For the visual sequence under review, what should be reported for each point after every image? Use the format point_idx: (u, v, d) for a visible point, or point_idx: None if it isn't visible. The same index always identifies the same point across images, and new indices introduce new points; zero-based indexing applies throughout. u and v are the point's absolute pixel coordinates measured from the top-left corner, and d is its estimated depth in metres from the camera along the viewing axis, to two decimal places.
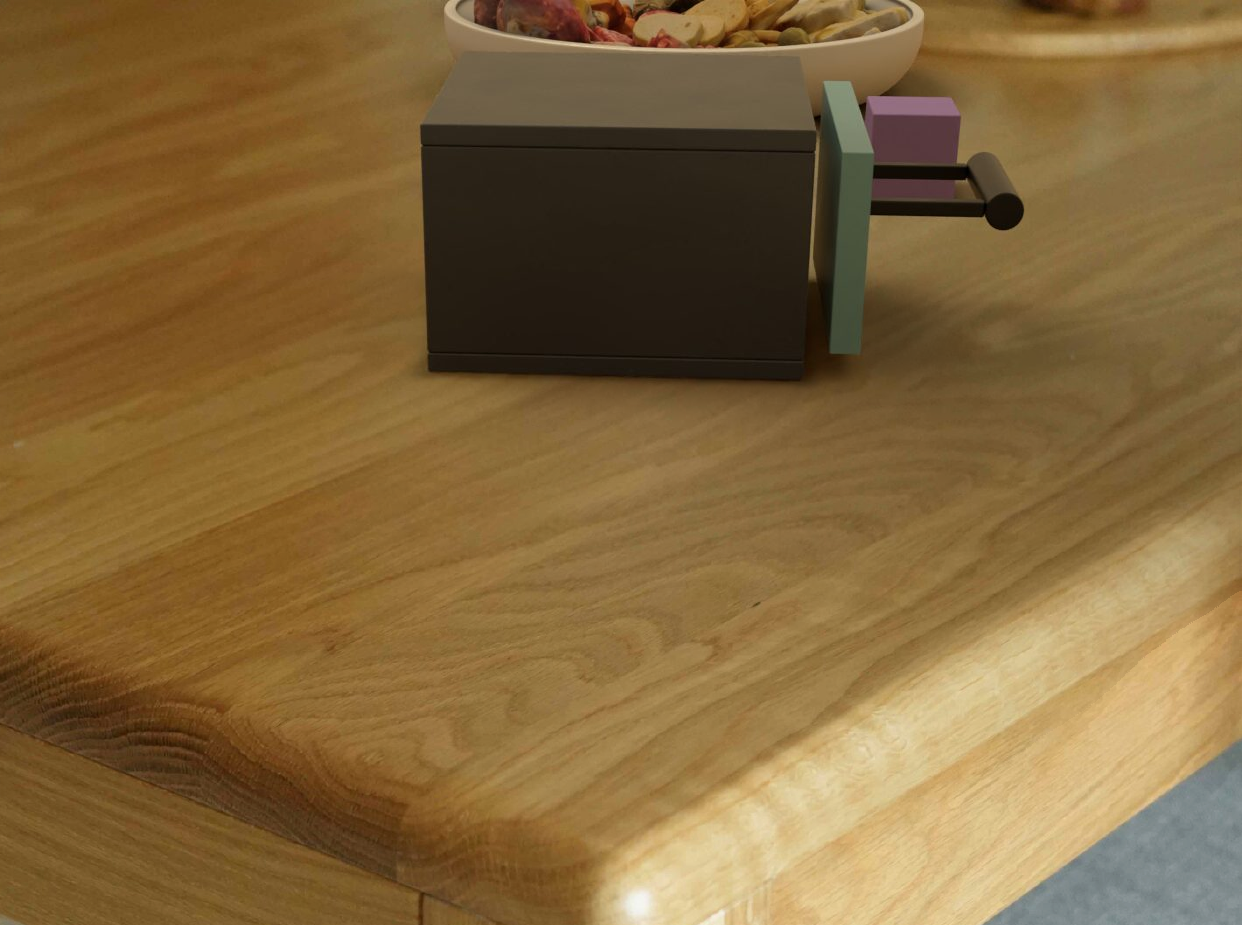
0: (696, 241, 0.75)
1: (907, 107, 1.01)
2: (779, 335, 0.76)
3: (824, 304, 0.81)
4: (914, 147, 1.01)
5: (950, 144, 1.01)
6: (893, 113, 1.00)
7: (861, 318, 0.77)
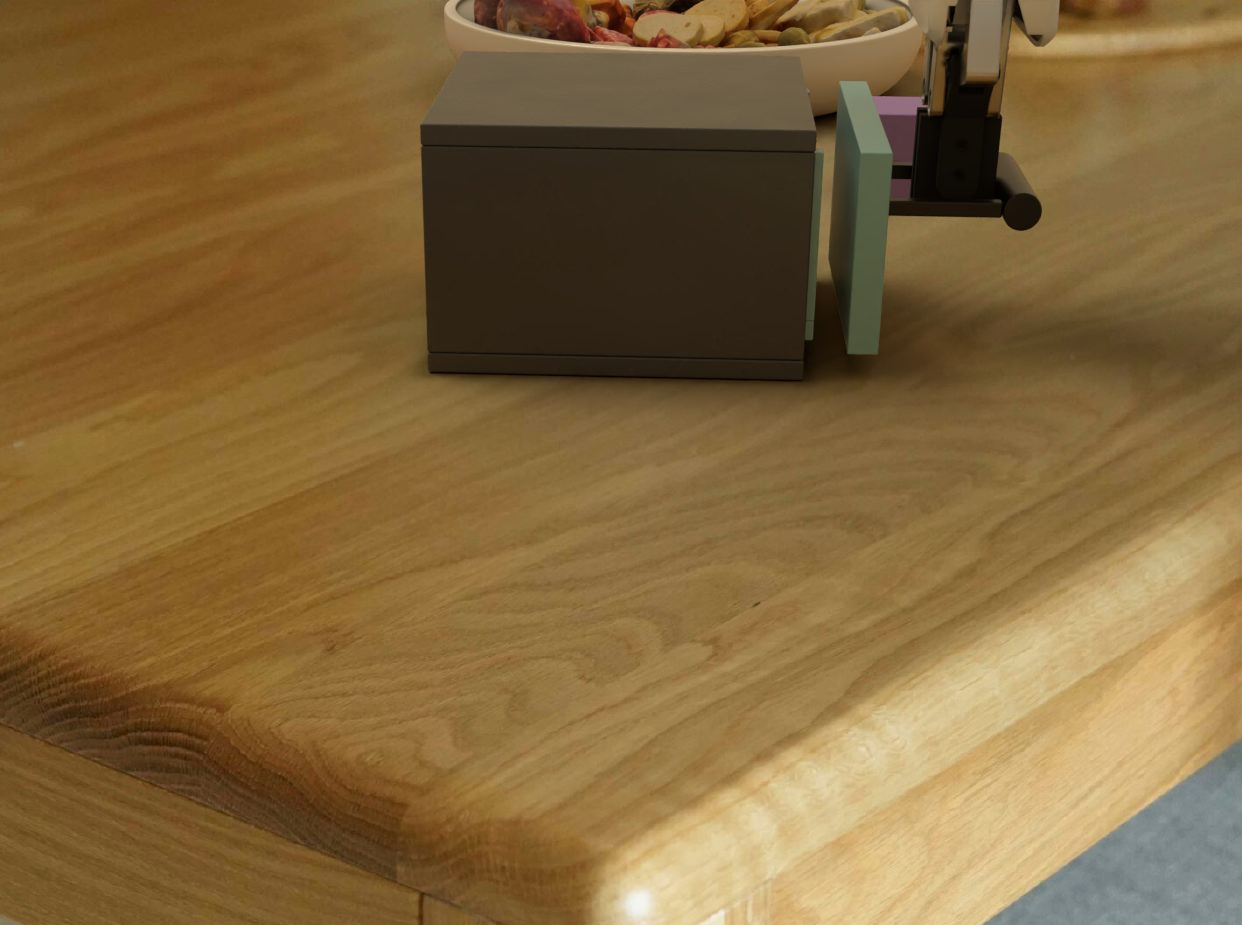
0: (696, 241, 0.75)
1: (907, 107, 1.01)
2: (779, 335, 0.76)
3: (841, 304, 0.81)
4: None
5: None
6: (893, 113, 1.00)
7: (879, 318, 0.77)
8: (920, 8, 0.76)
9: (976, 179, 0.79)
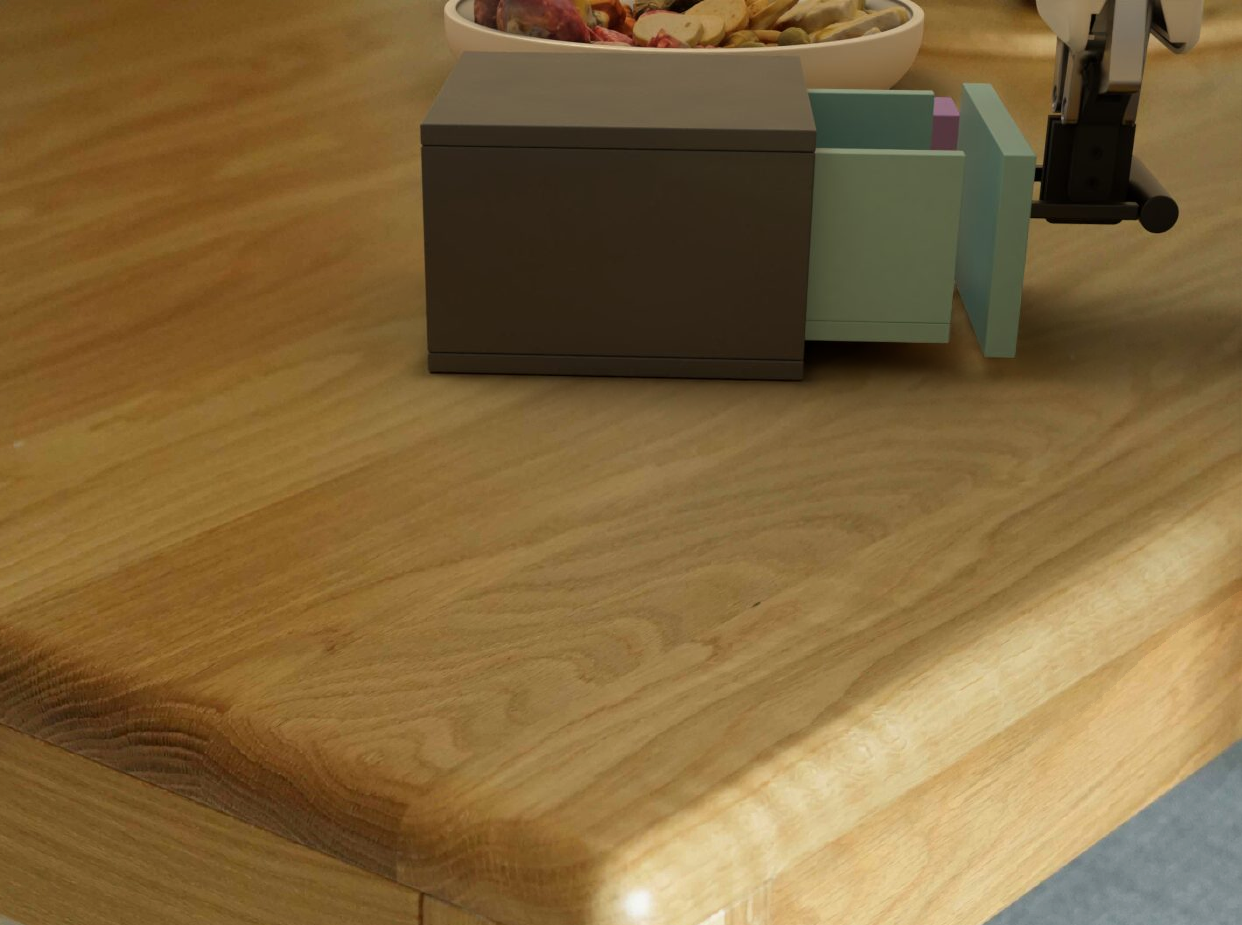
0: (696, 241, 0.75)
1: None
2: (779, 335, 0.76)
3: (972, 307, 0.80)
4: None
5: (950, 144, 1.01)
6: None
7: (1017, 321, 0.76)
8: (1058, 16, 0.75)
9: (1109, 187, 0.79)
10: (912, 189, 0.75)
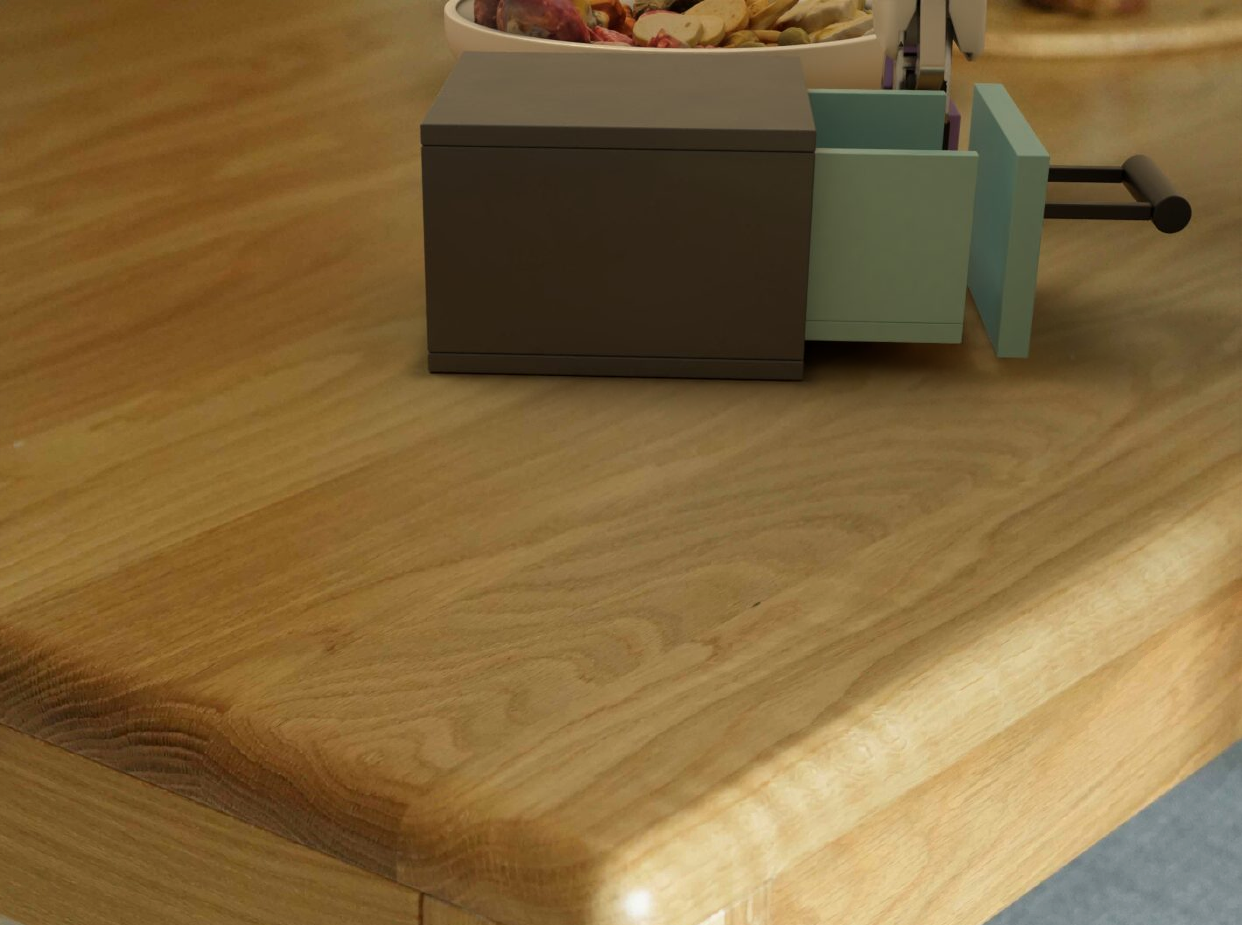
0: (696, 241, 0.75)
1: None
2: (779, 335, 0.76)
3: (985, 307, 0.80)
4: None
5: (950, 144, 1.01)
6: None
7: (1030, 322, 0.76)
8: (880, 32, 0.98)
9: None
10: (925, 189, 0.75)
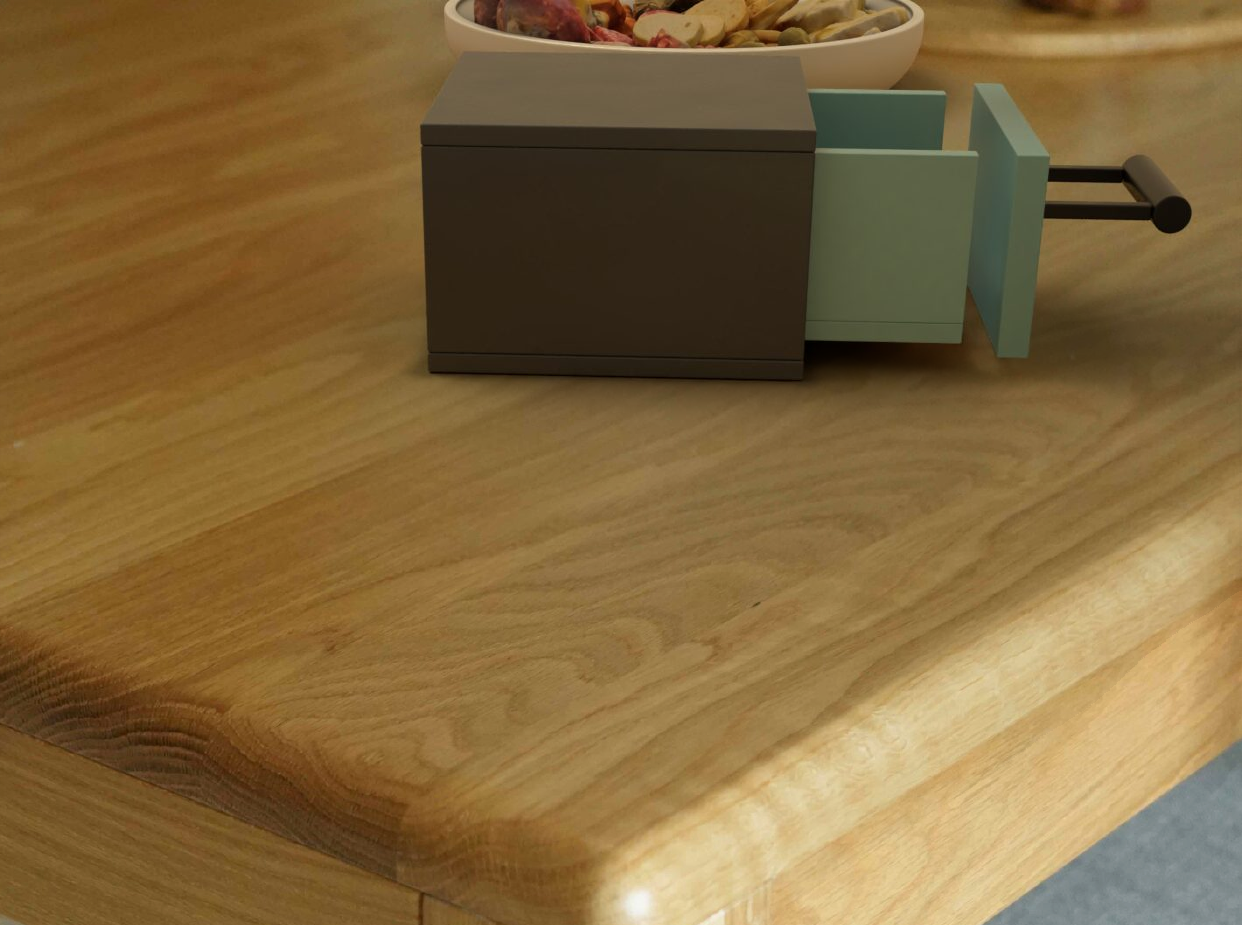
0: (696, 241, 0.75)
1: None
2: (779, 335, 0.76)
3: (985, 307, 0.80)
4: None
5: None
6: None
7: (1030, 322, 0.76)
8: None
9: None
10: (925, 189, 0.75)
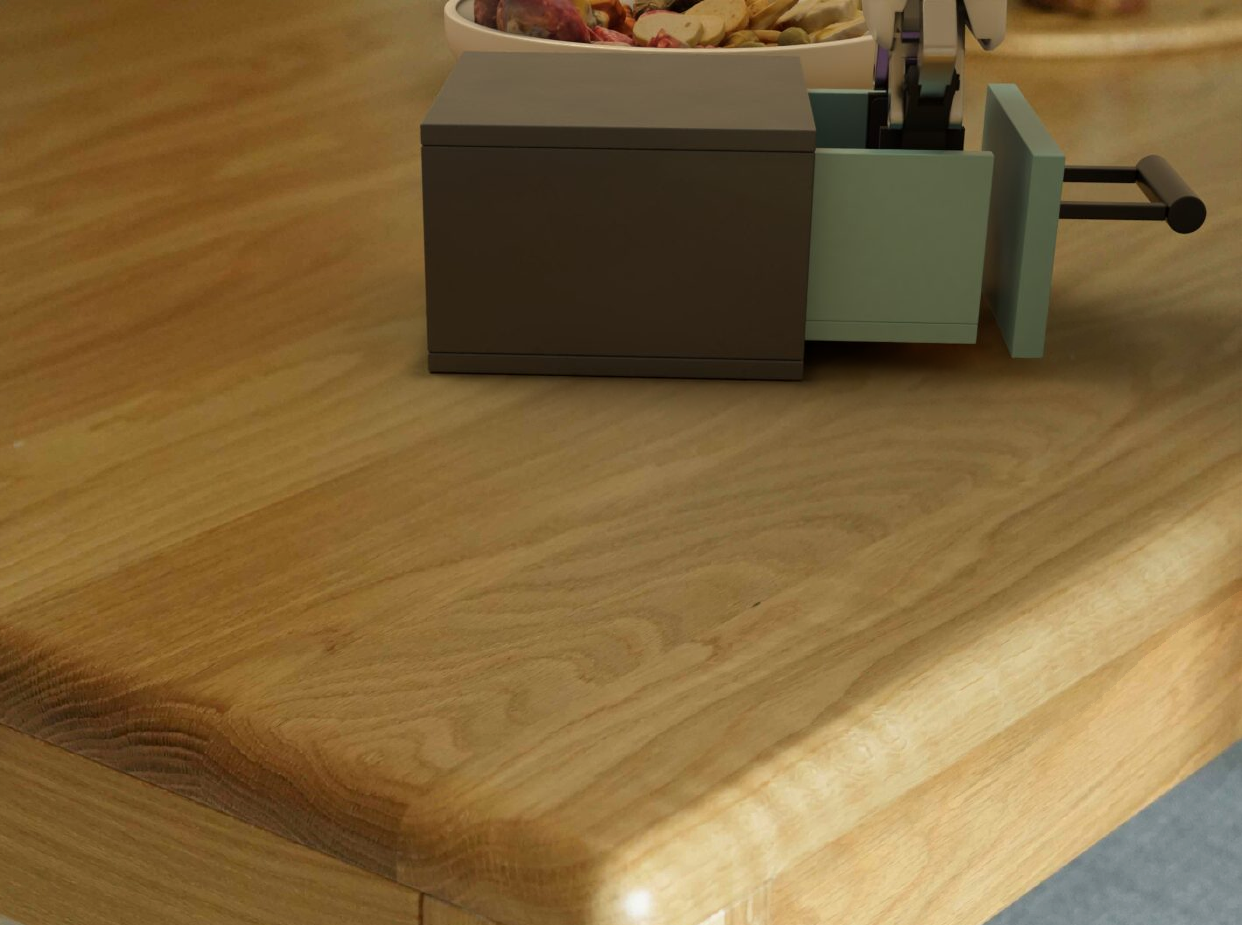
0: (696, 241, 0.75)
1: None
2: (779, 335, 0.76)
3: (999, 308, 0.80)
4: None
5: None
6: None
7: (1045, 322, 0.76)
8: (870, 15, 0.76)
9: None
10: (940, 190, 0.75)
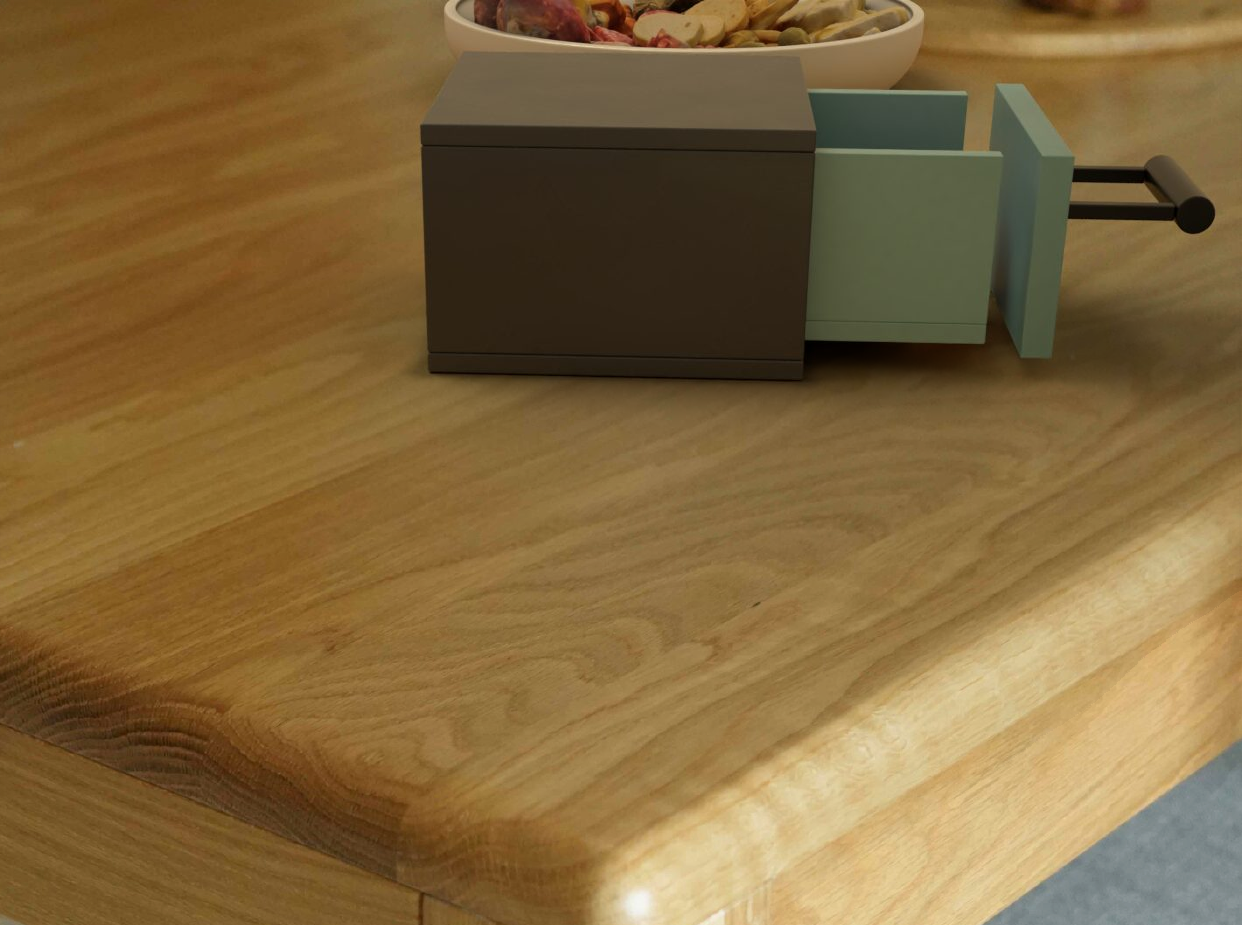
0: (696, 241, 0.75)
1: None
2: (779, 335, 0.76)
3: (1007, 308, 0.80)
4: None
5: None
6: None
7: (1054, 322, 0.76)
8: None
9: None
10: (949, 190, 0.75)
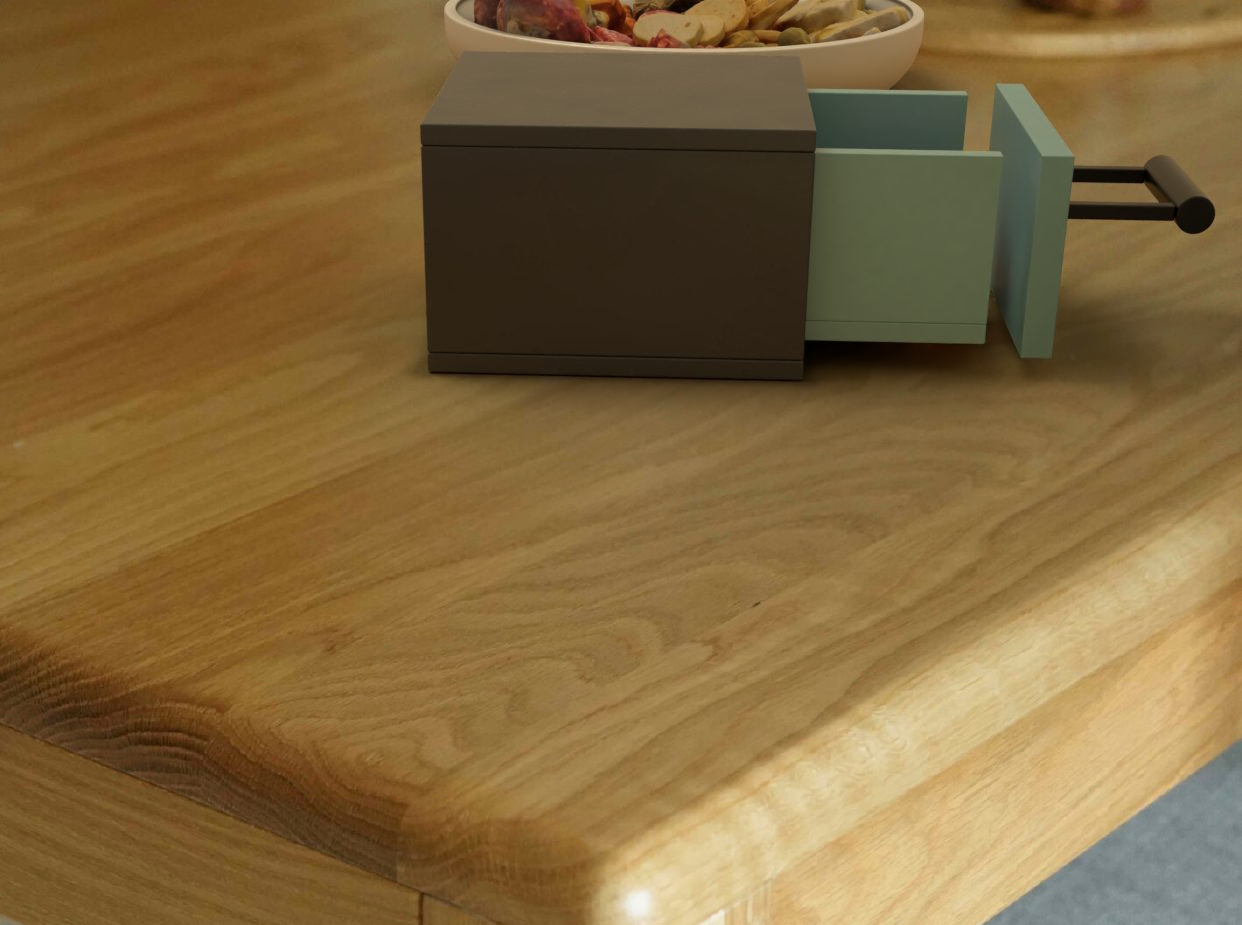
0: (696, 241, 0.75)
1: None
2: (779, 335, 0.76)
3: (1007, 308, 0.80)
4: None
5: None
6: None
7: (1054, 322, 0.76)
8: None
9: None
10: (949, 190, 0.75)
